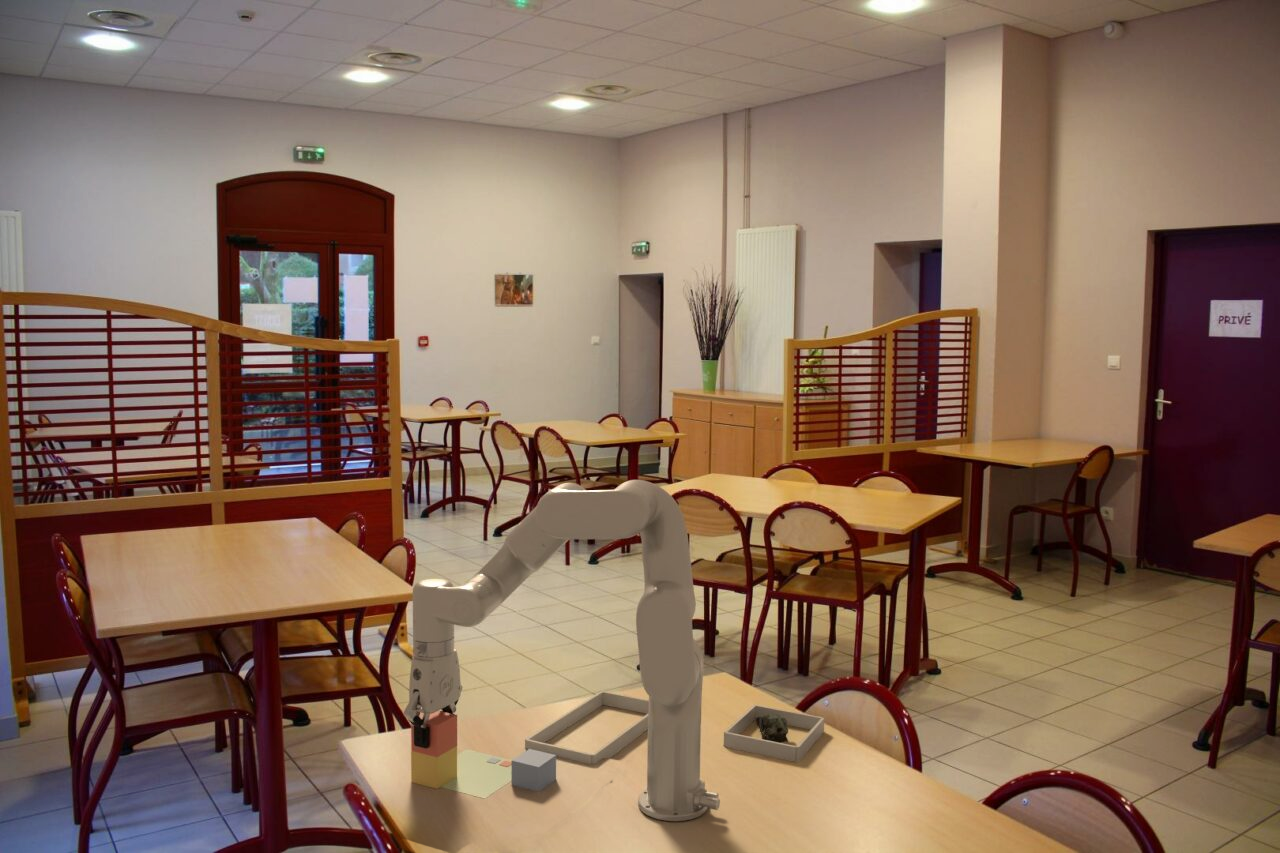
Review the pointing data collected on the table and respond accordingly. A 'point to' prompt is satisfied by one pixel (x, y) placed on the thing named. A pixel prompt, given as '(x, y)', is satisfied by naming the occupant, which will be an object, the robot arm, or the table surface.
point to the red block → (438, 734)
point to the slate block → (533, 770)
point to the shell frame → (770, 747)
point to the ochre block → (433, 768)
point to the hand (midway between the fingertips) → (434, 738)
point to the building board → (480, 774)
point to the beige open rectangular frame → (581, 711)
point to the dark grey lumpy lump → (773, 728)
